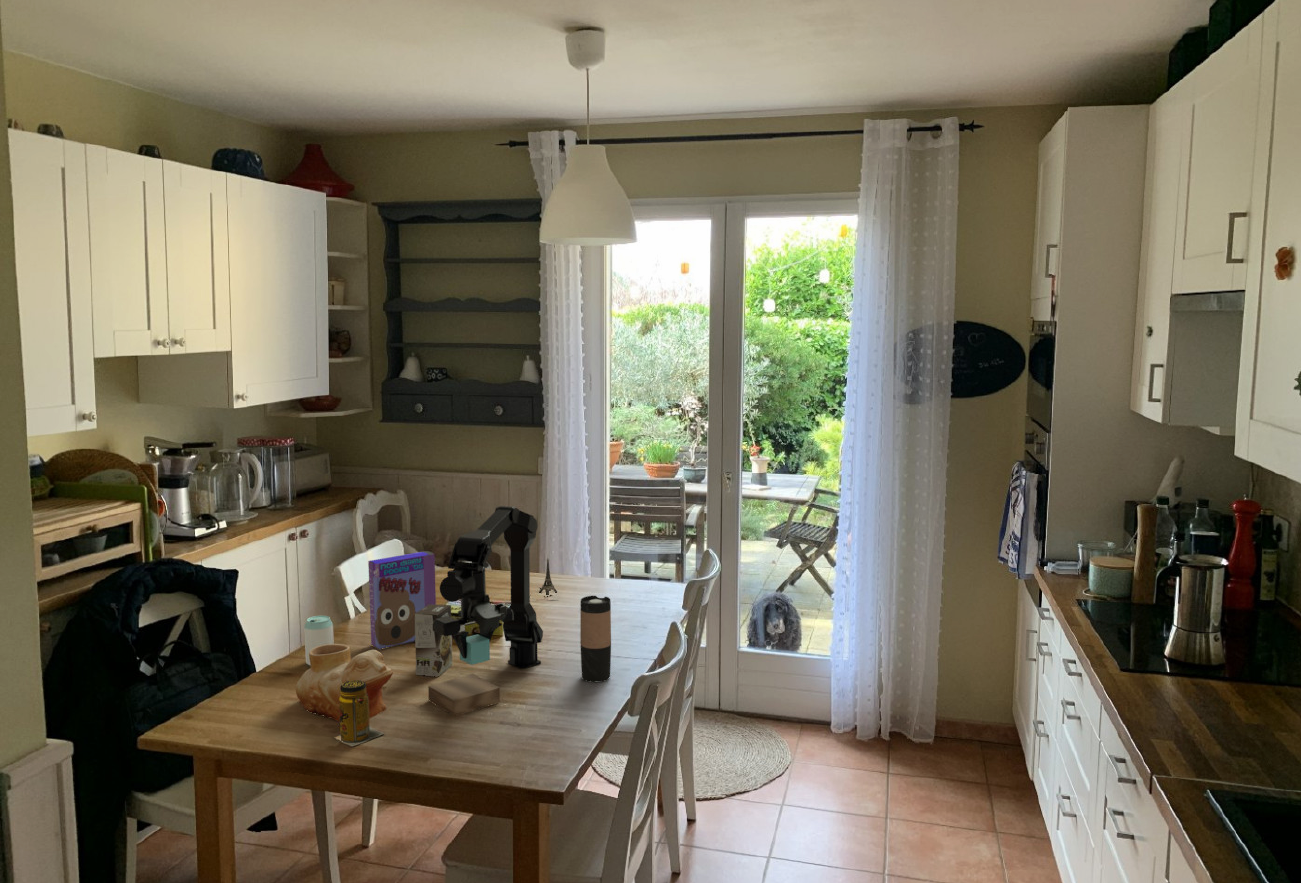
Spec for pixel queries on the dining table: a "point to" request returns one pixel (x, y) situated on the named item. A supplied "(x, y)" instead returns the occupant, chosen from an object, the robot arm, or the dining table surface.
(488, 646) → the teal block
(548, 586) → the eiffel tower figurine
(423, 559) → the cereal box
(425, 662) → the coffee box
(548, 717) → the dining table surface
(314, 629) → the can
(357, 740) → the condiment
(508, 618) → the robot arm
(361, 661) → the ceramic vessel
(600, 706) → the dining table surface
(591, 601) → the travel mug
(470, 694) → the walnut block
